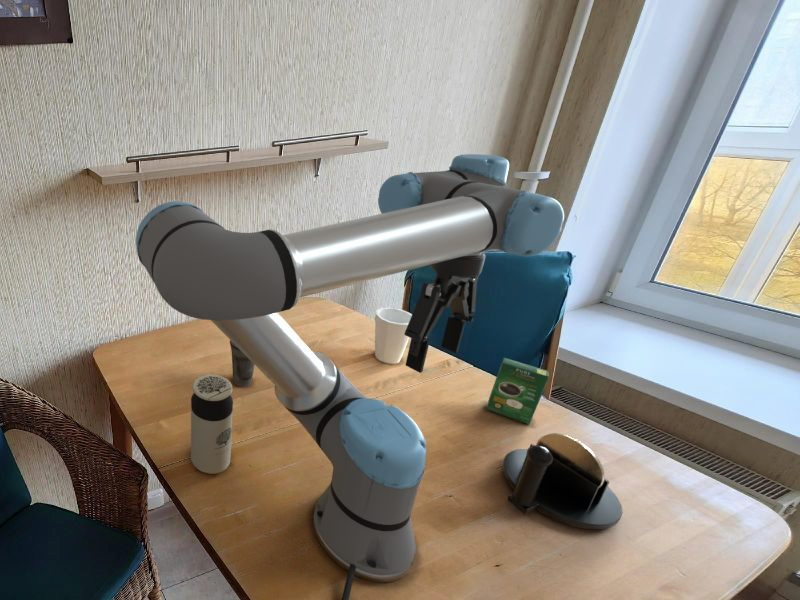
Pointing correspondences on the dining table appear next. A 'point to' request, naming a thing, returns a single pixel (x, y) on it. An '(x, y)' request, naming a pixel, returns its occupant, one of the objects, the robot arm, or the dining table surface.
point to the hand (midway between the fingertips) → (432, 358)
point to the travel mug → (211, 423)
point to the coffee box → (517, 390)
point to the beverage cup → (241, 367)
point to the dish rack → (562, 482)
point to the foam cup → (391, 334)
